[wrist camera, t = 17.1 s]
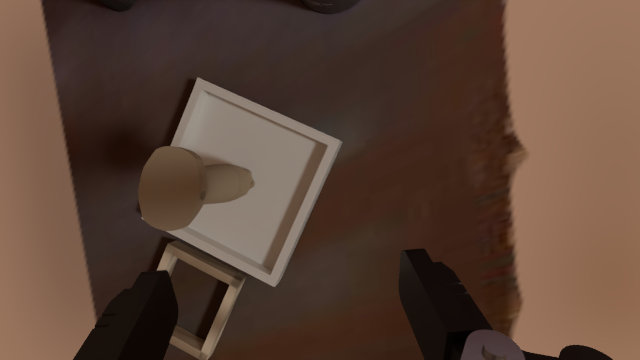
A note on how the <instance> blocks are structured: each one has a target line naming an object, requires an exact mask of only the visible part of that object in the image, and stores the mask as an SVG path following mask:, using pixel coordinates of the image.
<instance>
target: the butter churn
mask: <svg viewBox="0 0 640 360" xmlns="http://www.w3.org/2000/svg"><path fill="white" fill-rule="evenodd" d="M98 1H100V2H101V3H103V4H104V5H106V6H108V7H109V8H111V9H113V10H115V11H118V12H119V11H125V10H128V9H130V8H131V7H132V6H133V5H134V3H136V0H98Z"/></svg>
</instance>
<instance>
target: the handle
mask: <svg viewBox="0 0 640 360" xmlns="http://www.w3.org/2000/svg"><path fill="white" fill-rule="evenodd" d="M251 173H252V172H251V171H250V170H248V169H243V168H241V167H239V166H236V165H231V164H215V165H206V166H204V163H203V160H202V159H201V158H200V156H198V155H197V154H196V153H195V152H193V151H191V150H188V149H185V148H181V147H174V146H164V147H160V148H158V149H156V150H155V151H154V153H153V154H152V155H151V157H150V158H149V160H148V161H147V163H146V164H145V166H144V168H143V171H142V174H141V179H140V184H139V191H138V197H139V204H140V209H141V213H142V217H143V219H144V220H145V221H146V222H147V223H148V224H149V225H151V226H153V227H154V228H157V229H160V230H164V231H174V230H178V229H181V228H184V227H187V226H189V225H190V223H191V222H192V221H193V220H194V218H195V217H196V216H197V214H198V213H199V211H200V210H201V208H202V206H203V205H205V204H215V203H225V202H230V201H233V200H236V199H238V198H240V197H242V196H244V195H246V194H247V192H248V191H249V189H251V188H253V187H254V185H255V181H253V179H252V175H251Z"/></svg>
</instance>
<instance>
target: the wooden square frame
mask: <svg viewBox="0 0 640 360" xmlns="http://www.w3.org/2000/svg"><path fill="white" fill-rule="evenodd" d="M178 258H179V259H181V260H183V261H185V262H187V263H189V264H190V265H192V266H194V267H196V268H198V269H200V270H202V271H204V272H206V273H208V274H210V275H211V276H213V277H215V278H217V279H219V280H221V281H223V282H225V283H227V284H229V288H228V290H227V292H226V295H225V297H224V299H223V301H222V304H221V306H220V308H219V311H218V313H217V315H216V318H215V320H214V322H213V324H212V327H211V329H210V331H209V334H208V336H207V338H206V341H204V340H203V339H201V338H199V337H197V336H195V335H194V334H192V333H190V332H188V331H186V330H185V329H183V328H181V327H179V326H177V325H176V326H175V329H174V332H173V334H172V337H171V340H170V342H169V343H171V344H173V345H175V346H176V347H178V348H180V349H182V350H183V351H185V352H187V353H189V354H191V355H192V356H194V357H196V358H198V359H199V360H208V358H209V357H210V356H211V355H212V354H213V352H214V349H215V347H216V345H217V342H218V340H219V338H220V336H221V333H222V331H223V329H224V327H225V324H226V322H227V320H228V317H229V315H230V313H231V311H232V308H233V306H234V304H235V301H236V299H237V297H238V295H239V292H240V290H241V288H242V285H243V283H244V281H245V279H246V275H244V274H242V273H240V272H238V271H236V270H234V269H232V268H230V267H228V266H226V265H224V264H222V263H220V262H219V261H217V260H215V259H213V258H211V257H209V256H207V255H205V254H203V253H201V252H199V251H197V250H195V249H193V248H191V247H189V246H188V245H186V244H184V243H182V242H180V241H178V240H176V241H173V242H171V243H168V244H167V246H166V249H165V251H164V254H163V256H162V259H161V261H160V264H159V266H158V268H157V271H159V270H167V271H168V273H169V275H170V276H171V273H172V271H173V269H174V266H175V264H176V261H177V259H178Z"/></svg>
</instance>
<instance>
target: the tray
mask: <svg viewBox="0 0 640 360" xmlns="http://www.w3.org/2000/svg"><path fill="white" fill-rule="evenodd" d="M341 145H342V142H341V141H340V140H338V139H335V138H333V137H331V136H329V135H326V134H324V133H322V132H320V131H317V130H315V129H313V128H311V127H308V126H306V125H304V124H302V123H299V122H297V121H295V120H293V119H290V118H288V117H286V116H284V115H281V114H279V113H277V112H275V111H272V110H270V109H268V108H265V107H263V106H261V105H259V104H256V103H254V102H252V101H250V100H247V99H245V98H243V97H241V96H238V95H236V94H234V93H232V92H229V91H227V90H225V89H223V88H220V87H218V86H216V85H214V84H211V83H209V82H207V81H205V80H202V79H200V78H197V81H196V83H195V86H194V88H193V91H192V93H191V96H190V98H189V101H188V103H187V106H186V108H185V111H184V113H183V116H182V118H181V121H180V123H179V126H178V128H177V131H176V133H175V136H174V138H173V141H172V143H171V146H174V147H181V148H185V149H188V150H191V151H193V152H195V153H196V154H197V155H198V156H200V158H201V159H202V160H203V163H204V166H206V165H215V164H231V165H236V166H239V167H241V168H243V169H248V170H250V171H251V172H252V173H251V175H252V179H253V181H255V185H254V187H253V188H251V189H249V191H248V192H247V194H246V195H244V196H242V197H240V198H238V199H236V200H233V201H230V202H225V203H215V204H205V205H203V206H202V208H201V210H200V211H199V213H198V214H197V216H196V217H195V218H194V220H193V221H192V222H191V223H190V225H189V226H187V227H184V228H181V229H178V230H174V231H167V232H169V233H170V234H172V235H174V236H176V237H178V238H180V239H182V240H184V241H186V242H188V243H190V244H192V245H194V246H196V247H198V248H200V249H202V250H203V251H205V252H207V253H209V254H211V255H213V256H215V257H217V258H219V259H221V260H223V261H225V262H227V263H229V264H231V265H233V266H235V267H236V268H238V269H240V270H242V271H244V272H246V273H248V274H250V275H252V276H254V277H256V278H258V279H260V280H262V281H264V282H266V283H268V284H269V285H271V286H273V287H275V286H276V285H277V284H278V283H279V281H280V280H281V278H282V276H283V274H284V271H285V269H286V267H287V265H288V262H289V260H290V258H291V256H292V254H293V251H294V249H295V247H296V245H297V242H298V240H299V238H300V236H301V234H302V231H303V229H304V227H305V225H306V222H307V220H308V218H309V216H310V214H311V211H312V209H313V207H314V205H315V202H316V200H317V198H318V196H319V194H320V191H321V189H322V187H323V185H324V182H325V180H326V178H327V176H328V173H329V171H330V169H331V167H332V165H333V162H334V160H335V158H336V156H337V153H338V151H339V149H340V147H341ZM142 219H143V217H142ZM143 220H144V219H143Z"/></svg>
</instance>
